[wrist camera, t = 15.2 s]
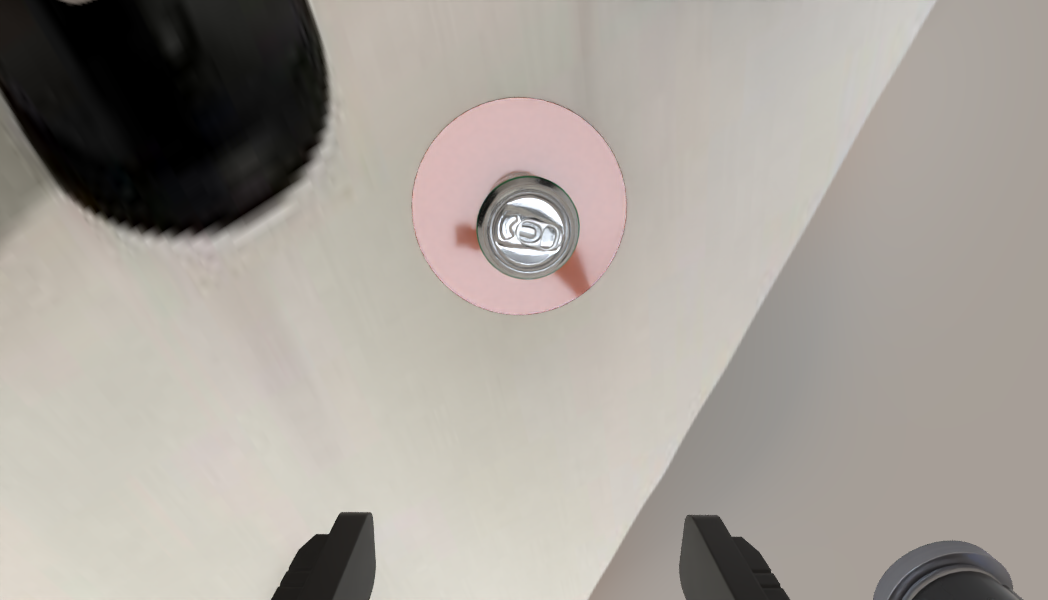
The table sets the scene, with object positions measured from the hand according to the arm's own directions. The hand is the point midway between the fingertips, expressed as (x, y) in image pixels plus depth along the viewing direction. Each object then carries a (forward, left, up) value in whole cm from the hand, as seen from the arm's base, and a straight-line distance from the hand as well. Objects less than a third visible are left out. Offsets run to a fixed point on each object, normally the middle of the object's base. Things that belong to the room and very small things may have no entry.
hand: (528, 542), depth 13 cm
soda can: (+1, -6, -25) cm, 26 cm away
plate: (+1, -6, -25) cm, 26 cm away
